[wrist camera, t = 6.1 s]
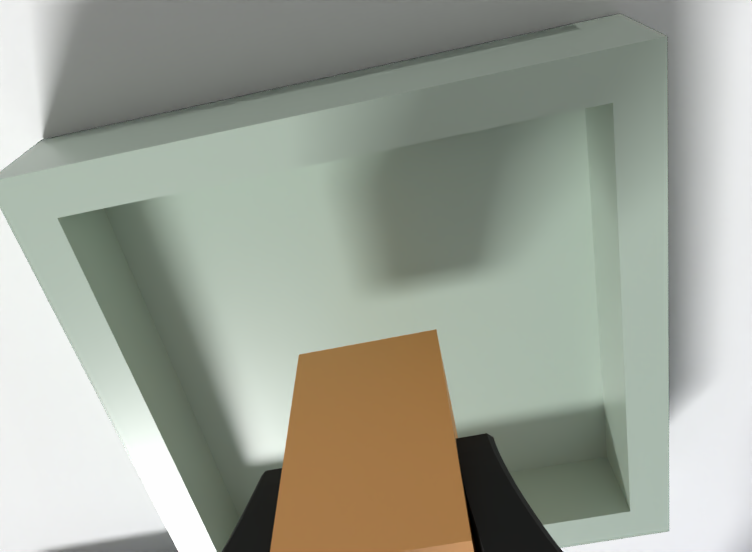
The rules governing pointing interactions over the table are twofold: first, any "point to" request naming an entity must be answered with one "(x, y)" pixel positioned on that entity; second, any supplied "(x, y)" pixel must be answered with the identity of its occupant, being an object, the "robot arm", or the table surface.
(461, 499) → the pin
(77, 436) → the table surface
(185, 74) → the table surface
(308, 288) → the tray
